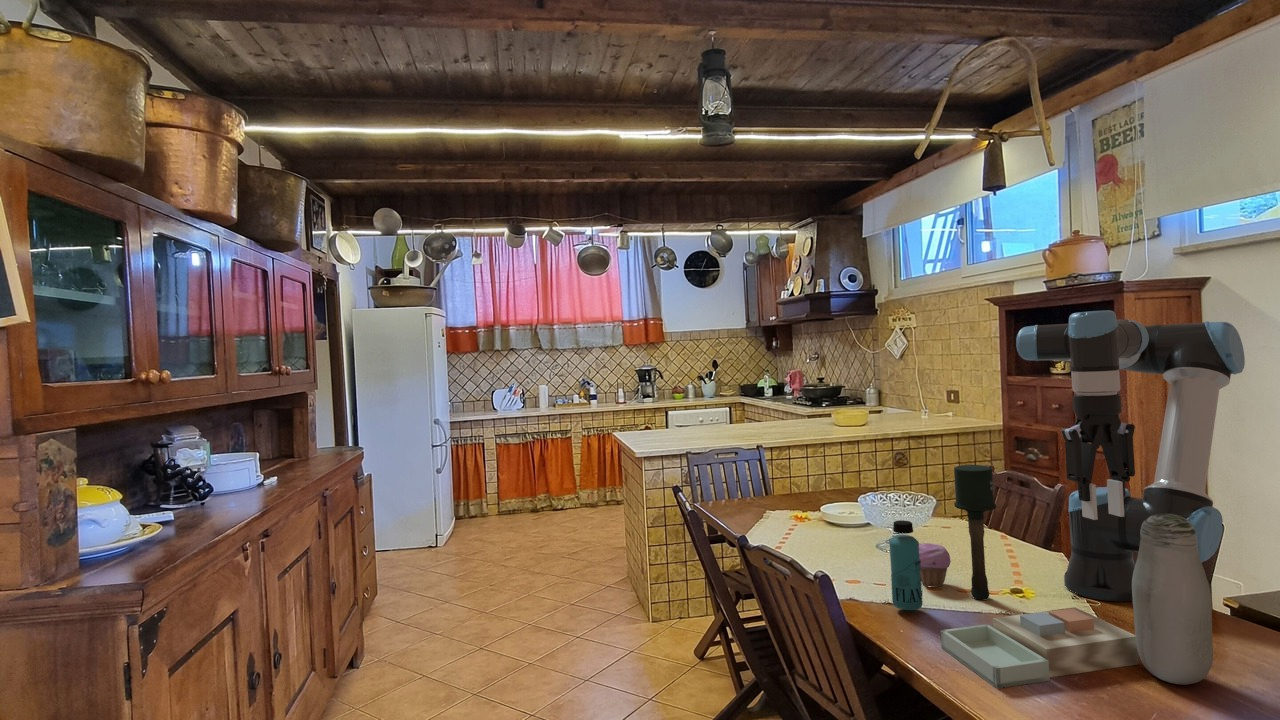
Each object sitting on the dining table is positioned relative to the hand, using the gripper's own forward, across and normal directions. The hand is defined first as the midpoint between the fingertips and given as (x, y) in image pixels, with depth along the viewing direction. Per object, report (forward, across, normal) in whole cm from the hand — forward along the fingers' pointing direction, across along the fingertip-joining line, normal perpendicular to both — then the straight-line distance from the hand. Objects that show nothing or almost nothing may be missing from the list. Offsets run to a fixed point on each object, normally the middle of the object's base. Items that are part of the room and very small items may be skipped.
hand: (1103, 516), depth 125 cm
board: (+25, +10, 0) cm, 27 cm away
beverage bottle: (+25, +26, -26) cm, 44 cm away
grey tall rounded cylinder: (+25, 0, +13) cm, 28 cm away
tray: (+25, +24, 0) cm, 35 cm away
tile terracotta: (+20, +8, 0) cm, 21 cm away
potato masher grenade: (+25, +7, -28) cm, 38 cm away
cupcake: (+25, +12, -39) cm, 48 cm away
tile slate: (+20, +14, 0) cm, 24 cm away
